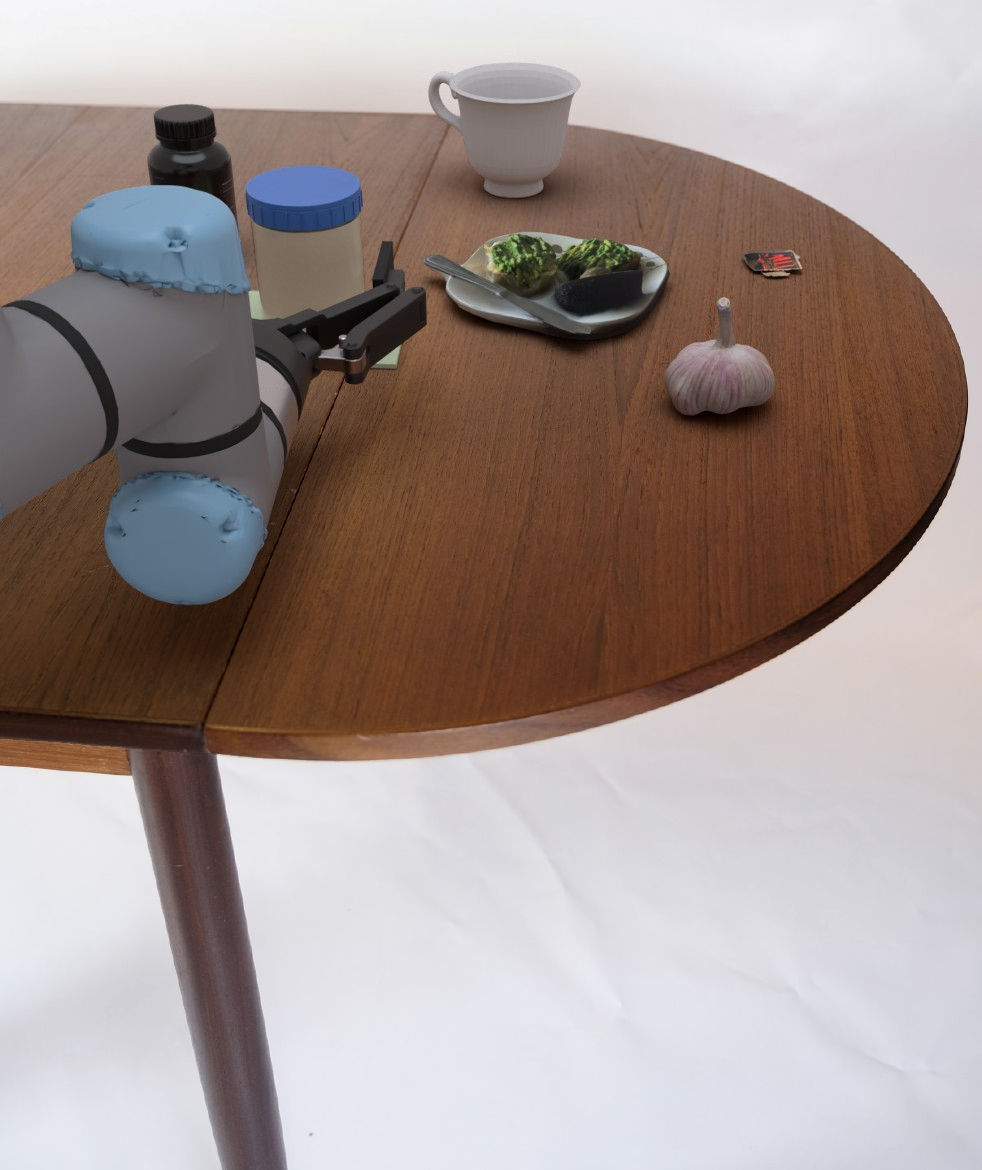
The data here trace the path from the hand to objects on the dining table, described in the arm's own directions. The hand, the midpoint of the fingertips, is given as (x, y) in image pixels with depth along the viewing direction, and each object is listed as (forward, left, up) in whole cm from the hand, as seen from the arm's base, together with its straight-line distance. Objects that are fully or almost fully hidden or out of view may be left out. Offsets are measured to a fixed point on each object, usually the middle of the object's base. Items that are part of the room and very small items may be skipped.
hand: (293, 257), depth 91 cm
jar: (0, +4, -7) cm, 8 cm away
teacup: (+13, +36, -8) cm, 39 cm away
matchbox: (+37, +18, -8) cm, 42 cm away
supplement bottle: (-12, +18, -8) cm, 22 cm away
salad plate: (+19, +11, -8) cm, 23 cm away
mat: (0, +4, -7) cm, 8 cm away
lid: (0, +4, +4) cm, 5 cm away
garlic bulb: (+30, -6, -8) cm, 32 cm away
